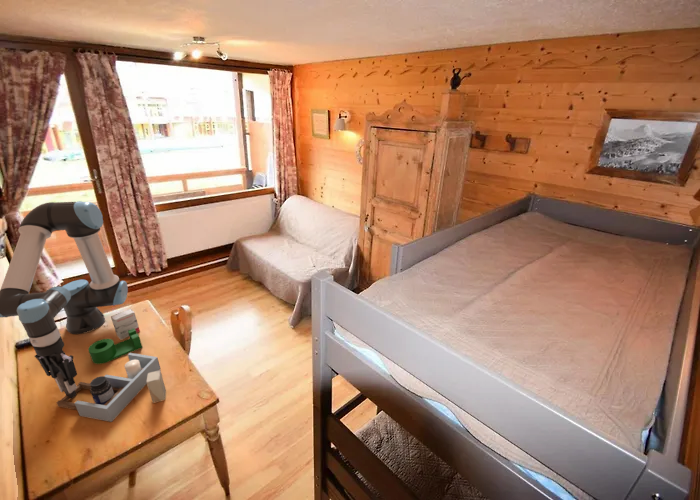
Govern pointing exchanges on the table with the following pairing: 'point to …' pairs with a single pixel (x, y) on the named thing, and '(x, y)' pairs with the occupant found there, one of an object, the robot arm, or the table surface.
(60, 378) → the wooden frame with peg
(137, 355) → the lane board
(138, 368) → the cream canister
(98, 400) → the pill bottle
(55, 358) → the robot arm
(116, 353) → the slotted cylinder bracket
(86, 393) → the table surface
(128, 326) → the ink box
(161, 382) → the box
